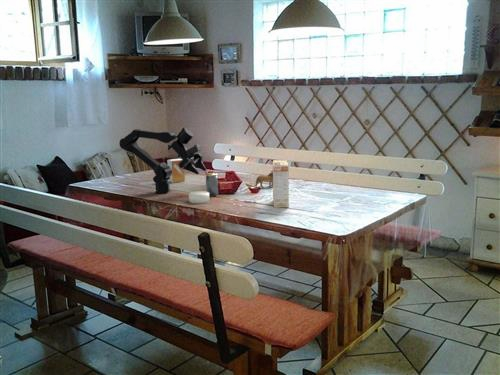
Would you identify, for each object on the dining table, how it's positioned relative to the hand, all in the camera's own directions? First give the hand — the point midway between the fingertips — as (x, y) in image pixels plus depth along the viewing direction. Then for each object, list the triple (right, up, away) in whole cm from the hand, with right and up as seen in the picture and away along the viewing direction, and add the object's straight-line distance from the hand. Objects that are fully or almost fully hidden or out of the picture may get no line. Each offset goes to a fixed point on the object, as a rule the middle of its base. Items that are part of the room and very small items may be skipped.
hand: (202, 172), depth 252 cm
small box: (-19, -4, +39) cm, 44 cm away
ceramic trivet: (0, -15, -11) cm, 19 cm away
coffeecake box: (+39, -16, -21) cm, 47 cm away
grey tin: (+5, -12, +1) cm, 13 cm away
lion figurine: (+34, -8, +18) cm, 39 cm away
